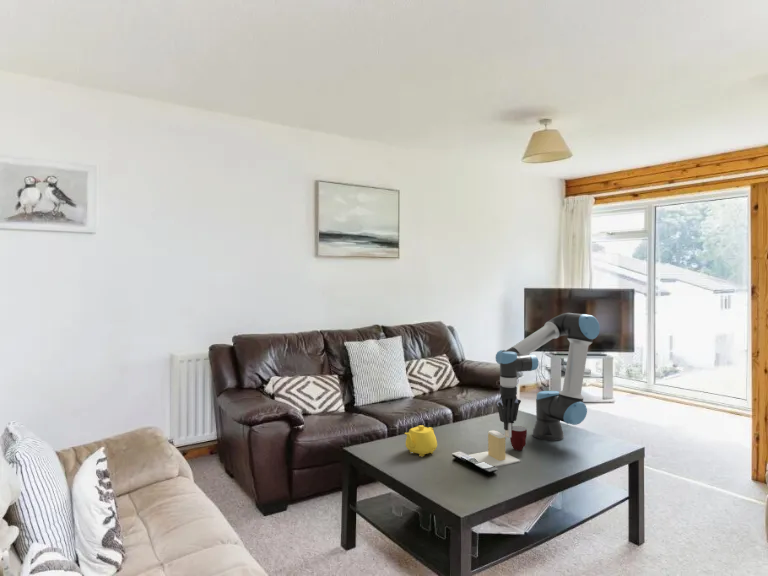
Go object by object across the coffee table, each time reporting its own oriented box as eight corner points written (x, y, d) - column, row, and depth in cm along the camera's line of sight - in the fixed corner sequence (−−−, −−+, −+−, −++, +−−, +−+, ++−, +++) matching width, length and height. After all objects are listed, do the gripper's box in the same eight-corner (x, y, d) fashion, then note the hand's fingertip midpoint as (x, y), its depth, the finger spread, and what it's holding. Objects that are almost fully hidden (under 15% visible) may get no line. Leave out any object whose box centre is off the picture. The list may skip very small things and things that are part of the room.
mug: (533, 452, 234) (533, 431, 234) (518, 454, 231) (518, 433, 231) (520, 445, 244) (520, 425, 244) (505, 447, 241) (505, 427, 241)
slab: (494, 453, 232) (494, 430, 231) (505, 459, 224) (505, 435, 224) (488, 454, 230) (488, 431, 230) (499, 460, 223) (499, 436, 223)
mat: (498, 450, 237) (498, 449, 237) (520, 461, 223) (520, 460, 223) (460, 457, 229) (460, 456, 229) (481, 469, 214) (481, 468, 214)
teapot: (444, 451, 236) (444, 425, 236) (415, 462, 222) (415, 434, 222) (422, 444, 246) (422, 419, 246) (393, 455, 232) (393, 427, 232)
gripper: (514, 382, 235) (514, 432, 236) (491, 385, 230) (491, 436, 230) (525, 386, 228) (524, 437, 229) (502, 388, 223) (501, 441, 224)
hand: (508, 436), depth 230 cm, fingers closed
